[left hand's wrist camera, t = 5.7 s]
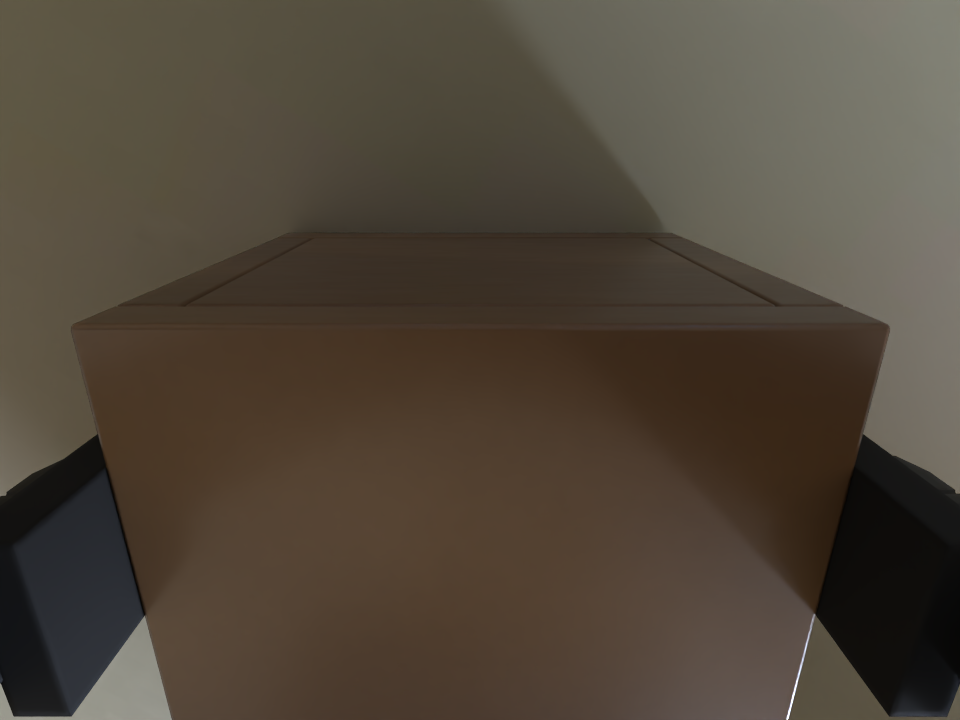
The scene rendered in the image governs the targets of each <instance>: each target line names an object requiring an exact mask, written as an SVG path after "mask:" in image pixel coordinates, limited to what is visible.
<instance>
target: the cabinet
mask: <svg viewBox="0 0 960 720" xmlns="http://www.w3.org/2000/svg"><path fill="white" fill-rule="evenodd" d="M889 332H890V328H889V325H888V324H886V323H883V322H881V321H879V320H876V319H874V318H871V317H869V316H867V315H864V314H862V313H860V312H857V311H855V310H853V309H850V308H848V307H844V306H843V305H841V304H839V303H836V302H834V301H832V300H829V299H827V298H825V297H822V296H820V295H817V294H815V293H813V292H810V291H808V290H806V289H803V288H801V287H798V286H796V285H794V284H791V283H789V282H787V281H784V280H782V279H779V278H777V277H775V276H772V275H770V274H768V273H765V272H763V271H760V270H758V269H756V268H753V267H751V266H749V265H746V264H744V263H742V262H739V261H737V260H734V259H732V258H730V257H727V256H725V255H723V254H720V253H718V252H715V251H713V250H711V249H708V248H706V247H704V246H701V245H699V244H696V243H694V242H692V241H689V240H687V239H685V238H682V237H680V236H677V235H675V234H673V233H287V234H285V235H283V236H280V237H278V238H276V239H273V240H271V241H269V242H266V243H264V244H262V245H259V246H257V247H254V248H252V249H250V250H247V251H245V252H243V253H240V254H238V255H236V256H233V257H231V258H228V259H226V260H224V261H221V262H219V263H217V264H214V265H212V266H210V267H207V268H205V269H203V270H200V271H198V272H195V273H193V274H191V275H188V276H186V277H184V278H181V279H179V280H177V281H174V282H172V283H169V284H167V285H165V286H162V287H160V288H158V289H155V290H153V291H151V292H148V293H146V294H143V295H141V296H139V297H136V298H134V299H132V300H129V301H127V302H125V303H122V304H120V305H118V306H117V307H113V308H111V309H108V310H106V311H103V312H101V313H99V314H96V315H94V316H92V317H89V318H87V319H85V320H82V321H80V322H78V323H75V324H73V325H72V326H71V333H72V337H73V340H74V344H75V348H76V352H77V356H78V360H79V363H80V367H81V371H82V375H83V379H84V383H85V387H86V390H87V394H88V398H89V402H90V406H91V410H92V413H93V417H94V421H95V425H96V429H97V433H98V437H99V440H100V444H101V448H102V452H103V456H104V460H105V463H106V467H107V471H108V475H109V479H110V483H111V487H112V490H113V494H114V498H115V502H116V506H117V510H118V514H119V517H120V521H121V525H122V529H123V533H124V537H125V540H126V544H127V548H128V552H129V556H130V560H131V564H132V567H133V571H134V575H135V579H136V583H137V587H138V590H139V594H140V598H141V602H142V606H143V610H144V614H145V617H146V621H147V625H148V629H149V633H150V637H151V640H152V644H153V648H154V652H155V656H156V660H157V664H158V667H159V671H160V675H161V679H162V683H163V687H164V690H165V694H166V698H167V702H168V706H169V710H170V714H171V717H172V720H788V719H789V716H790V712H791V708H792V704H793V700H794V696H795V693H796V689H797V685H798V681H799V677H800V673H801V670H802V666H803V662H804V658H805V654H806V650H807V647H808V643H809V639H810V635H811V631H812V627H813V624H814V620H815V616H816V612H817V608H818V604H819V601H820V597H821V593H822V589H823V585H824V581H825V577H826V574H827V570H828V566H829V562H830V558H831V554H832V551H833V547H834V543H835V539H836V535H837V531H838V528H839V524H840V520H841V516H842V512H843V508H844V505H845V501H846V497H847V493H848V489H849V485H850V482H851V478H852V474H853V470H854V466H855V462H856V459H857V455H858V451H859V447H860V443H861V439H862V436H863V432H864V428H865V424H866V420H867V416H868V413H869V409H870V405H871V401H872V397H873V393H874V390H875V386H876V382H877V378H878V374H879V370H880V367H881V363H882V359H883V355H884V351H885V347H886V344H887V340H888V336H889Z"/></svg>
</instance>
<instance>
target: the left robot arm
mask: <svg viewBox="0 0 960 720" xmlns="http://www.w3.org/2000/svg"><path fill="white" fill-rule="evenodd" d="M144 616H145V614H144V610H143V606H142V602H141V598H140V594H139V590H138V587H137V583H136V579H135V575H134V571H133V567H132V564H131V560H130V556H129V552H128V548H127V544H126V540H125V537H124V533H123V529H122V525H121V521H120V517H119V514H118V510H117V506H116V502H115V498H114V494H113V490H112V487H111V483H110V479H109V475H108V471H107V467H106V463H105V460H104V456H103V452H102V448H101V444H100V440H99V437H98V434H97V435H96V436H95V437H93V438H92V439H90V440H89V441H88V442H86V443H85V444H84V445H82V446H81V447H80V448H78V449H77V450H75V451H74V452H73V453H71V454H70V455H69V456H67V457H66V458H65V459H63V460H61V461H59V462H56V463H54V464H52V465H50V466H48V467H46V468H44V469H41V470H39V471H37V472H35V473H33V474H31V475H30V476H28V477H27V478H26V479H24V480H23V481H21V482H20V483H19V484H17V485H16V486H14V487H13V488H12V489H10V490H9V491H8V492H7V494H6V496H1V497H0V683H1V685H2V687H3V690H4V692H5V695H6V698H7V700H8V703H9V705H10V708H11V710H12V713H13V716H72V715H73V714H74V712H75V711H76V709H77V708H78V707H79V705H80V704H81V703H82V701H83V700H84V698H85V697H86V696H87V694H88V693H89V692H90V690H91V689H92V687H93V686H94V685H95V683H96V682H97V680H98V679H99V678H100V676H101V675H102V674H103V672H104V671H105V669H106V668H107V667H108V665H109V664H110V663H111V661H112V660H113V658H114V657H115V656H116V654H117V653H118V652H119V650H120V649H121V647H122V646H123V645H124V643H125V642H126V641H127V639H128V638H129V636H130V635H131V634H132V632H133V631H134V629H135V628H136V627H137V625H138V624H139V623H140V621H141V620H142V618H143V617H144ZM816 616H817V618H818V619H819V620H820V622H821V623H822V624H823V626H824V627H825V629H826V630H827V631H828V633H829V634H830V635H831V637H832V638H833V640H834V641H835V642H836V644H837V645H838V647H839V648H840V649H841V651H842V652H843V653H844V655H845V656H846V658H847V659H848V660H849V662H850V663H851V664H852V666H853V667H854V669H855V670H856V671H857V673H858V674H859V675H860V677H861V678H862V680H863V681H864V682H865V684H866V685H867V686H868V688H869V689H870V691H871V692H872V693H873V695H874V696H875V698H876V699H877V700H878V702H879V703H880V704H881V706H882V707H883V709H884V710H885V711H886V713H887V714H888V715H889V717H947V715H948V713H949V710H950V708H951V705H952V702H953V700H954V697H955V695H956V692H957V690H958V687H959V685H960V494H956V493H955V490H954V489H953V488H951V487H950V486H949V485H947V484H946V483H944V482H943V481H942V480H940V479H939V478H937V477H936V476H935V475H933V474H932V473H930V472H929V471H927V470H924V469H922V468H920V467H918V466H916V465H914V464H911V463H909V462H907V461H905V460H903V459H901V458H898V457H896V456H892V455H891V454H889V453H888V452H887V451H885V450H884V449H882V448H881V447H880V446H878V445H877V444H876V443H874V442H873V441H872V440H870V439H869V438H868V437H866V436H865V435H863V436H862V439H861V443H860V447H859V451H858V455H857V459H856V462H855V466H854V470H853V474H852V478H851V482H850V485H849V489H848V493H847V497H846V501H845V505H844V508H843V512H842V516H841V520H840V524H839V528H838V531H837V535H836V539H835V543H834V547H833V551H832V554H831V558H830V562H829V566H828V570H827V574H826V577H825V581H824V585H823V589H822V593H821V597H820V601H819V604H818V608H817V612H816Z"/></svg>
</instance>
